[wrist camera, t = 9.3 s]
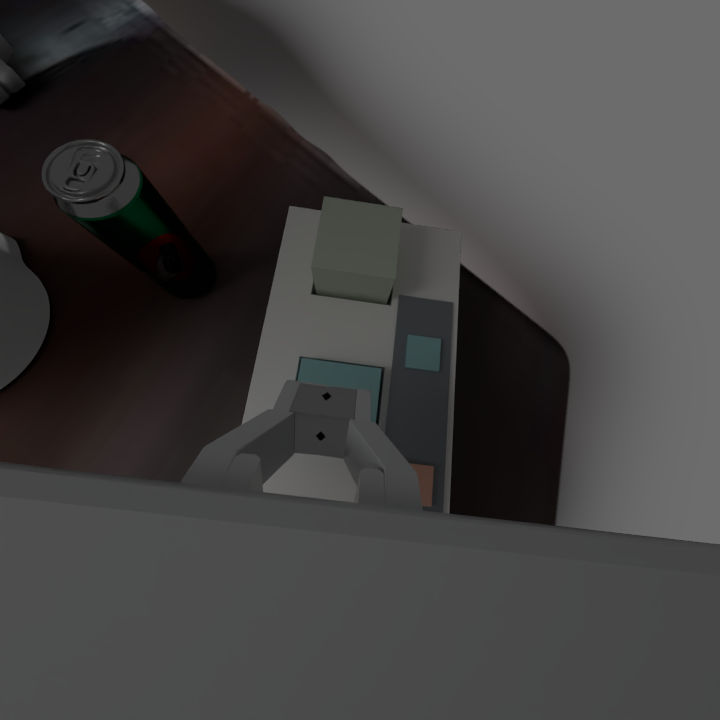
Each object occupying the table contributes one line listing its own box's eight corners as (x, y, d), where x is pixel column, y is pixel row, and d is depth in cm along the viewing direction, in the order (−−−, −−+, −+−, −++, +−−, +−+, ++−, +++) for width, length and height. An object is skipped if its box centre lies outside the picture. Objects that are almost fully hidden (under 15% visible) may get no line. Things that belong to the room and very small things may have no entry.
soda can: (225, 260, 28) (142, 143, 16) (209, 306, 27) (107, 214, 15) (175, 250, 28) (57, 125, 16) (157, 295, 27) (15, 195, 15)
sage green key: (317, 300, 21) (310, 266, 16) (327, 242, 22) (323, 196, 18) (384, 309, 21) (395, 278, 16) (390, 251, 22) (402, 208, 18)
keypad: (243, 582, 22) (182, 677, 14) (303, 266, 28) (288, 200, 20) (407, 600, 22) (445, 703, 14) (429, 284, 29) (464, 227, 21)
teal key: (298, 438, 20) (286, 441, 16) (309, 371, 22) (301, 357, 17) (366, 446, 21) (372, 452, 16) (373, 380, 22) (381, 368, 17)
